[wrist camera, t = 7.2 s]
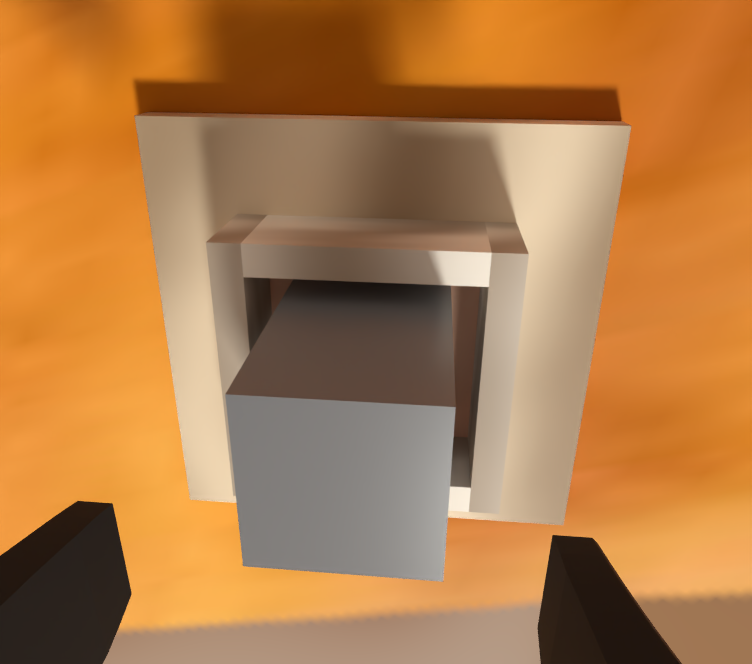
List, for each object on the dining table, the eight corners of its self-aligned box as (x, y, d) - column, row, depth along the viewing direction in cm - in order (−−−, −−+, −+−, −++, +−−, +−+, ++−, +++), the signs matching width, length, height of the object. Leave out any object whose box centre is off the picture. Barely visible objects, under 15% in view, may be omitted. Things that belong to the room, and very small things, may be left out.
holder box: (622, 121, 16) (664, 142, 13) (558, 508, 21) (578, 587, 18) (147, 112, 17) (84, 130, 14) (198, 484, 22) (159, 555, 19)
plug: (450, 275, 17) (455, 407, 11) (442, 406, 18) (443, 581, 13) (299, 269, 17) (225, 393, 11) (305, 398, 19) (243, 566, 13)
